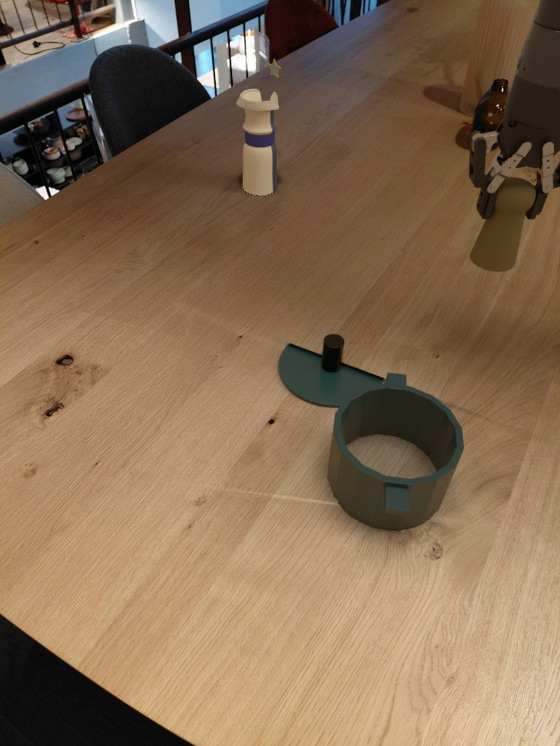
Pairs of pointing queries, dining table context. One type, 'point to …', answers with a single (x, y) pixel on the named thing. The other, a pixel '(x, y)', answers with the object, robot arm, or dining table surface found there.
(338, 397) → the lid
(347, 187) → the dining table surface
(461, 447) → the pot
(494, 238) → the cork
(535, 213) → the robot arm
